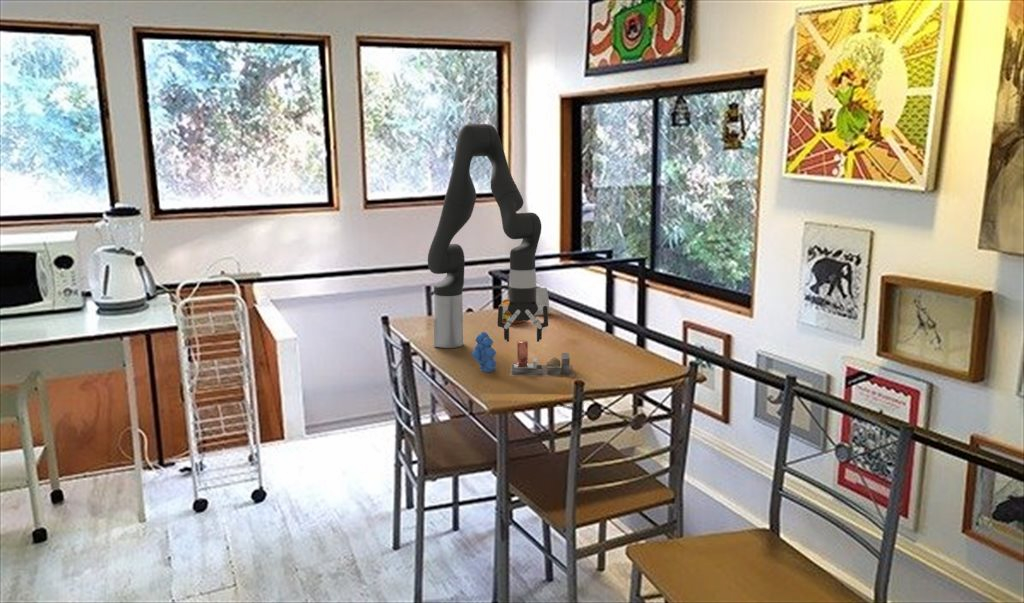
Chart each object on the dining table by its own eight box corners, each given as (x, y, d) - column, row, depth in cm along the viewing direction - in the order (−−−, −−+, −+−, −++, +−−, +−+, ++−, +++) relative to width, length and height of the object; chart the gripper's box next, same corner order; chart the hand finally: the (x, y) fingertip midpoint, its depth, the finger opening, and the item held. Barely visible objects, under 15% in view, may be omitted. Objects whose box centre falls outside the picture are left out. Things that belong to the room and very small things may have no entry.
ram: (513, 371, 215) (513, 343, 213) (513, 367, 219) (513, 339, 217) (536, 371, 215) (536, 343, 213) (536, 367, 219) (536, 340, 217)
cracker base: (509, 381, 212) (509, 360, 211) (510, 369, 223) (510, 350, 221) (574, 381, 212) (574, 361, 210) (572, 370, 222) (572, 350, 221)
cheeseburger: (522, 317, 289) (524, 293, 284) (527, 330, 279) (528, 306, 275) (496, 317, 287) (497, 294, 283) (499, 331, 278) (500, 306, 274)
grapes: (464, 369, 223) (464, 329, 221) (486, 366, 226) (485, 327, 223) (479, 380, 213) (478, 339, 210) (501, 377, 215) (501, 336, 213)
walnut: (546, 372, 215) (546, 359, 214) (546, 368, 219) (546, 355, 218) (560, 372, 215) (560, 359, 214) (560, 368, 219) (560, 355, 218)
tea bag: (548, 313, 295) (548, 288, 293) (533, 315, 292) (533, 290, 290) (544, 312, 298) (544, 287, 296) (528, 313, 296) (528, 288, 294)
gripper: (496, 287, 208) (497, 344, 211) (548, 287, 208) (548, 344, 211) (497, 282, 216) (498, 338, 219) (548, 282, 215) (547, 337, 218)
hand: (523, 341), depth 215 cm, fingers open, 8 cm apart
